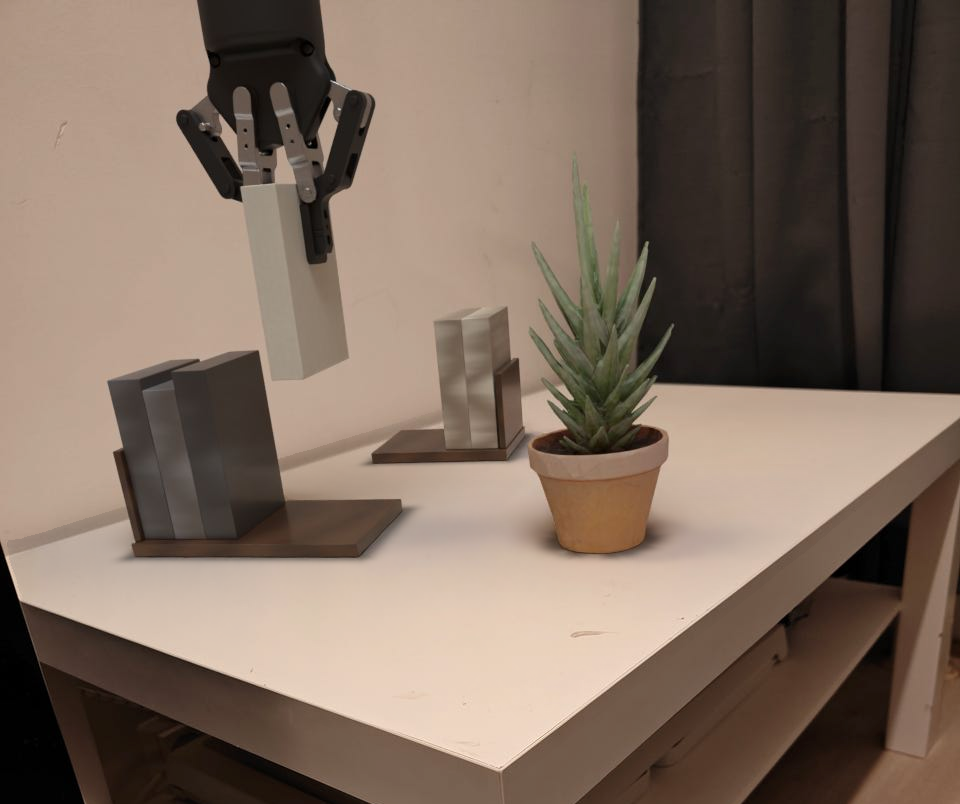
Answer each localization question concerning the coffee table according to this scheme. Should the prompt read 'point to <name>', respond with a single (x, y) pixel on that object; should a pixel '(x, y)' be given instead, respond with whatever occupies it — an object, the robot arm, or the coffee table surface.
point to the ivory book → (292, 286)
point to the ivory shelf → (468, 394)
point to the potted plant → (598, 402)
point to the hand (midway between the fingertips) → (296, 263)
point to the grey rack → (221, 469)
